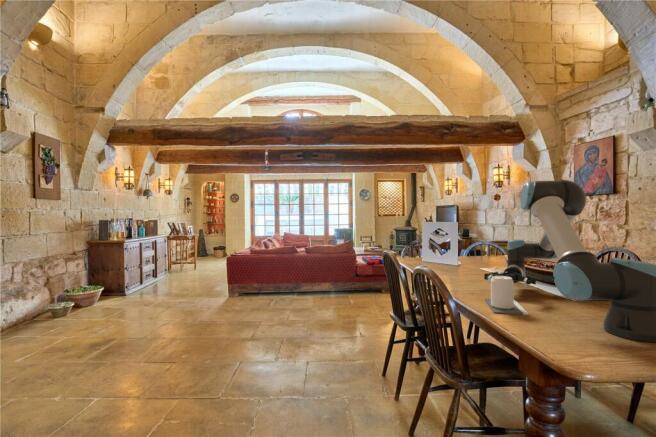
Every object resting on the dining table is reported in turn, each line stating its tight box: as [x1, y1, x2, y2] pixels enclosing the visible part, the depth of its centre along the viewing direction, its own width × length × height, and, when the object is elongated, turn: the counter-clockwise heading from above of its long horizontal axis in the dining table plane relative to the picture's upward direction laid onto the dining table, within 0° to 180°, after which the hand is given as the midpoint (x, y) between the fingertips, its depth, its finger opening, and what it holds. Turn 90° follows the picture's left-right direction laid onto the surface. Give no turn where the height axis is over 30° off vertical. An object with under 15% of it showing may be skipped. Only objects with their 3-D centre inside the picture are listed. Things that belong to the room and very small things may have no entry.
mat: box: [484, 298, 529, 316], centre depth 136 cm, size 20×12×1 cm, turn 164°
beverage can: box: [490, 276, 515, 309], centre depth 133 cm, size 8×8×12 cm
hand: (506, 282), depth 141 cm, fingers open, 13 cm apart
